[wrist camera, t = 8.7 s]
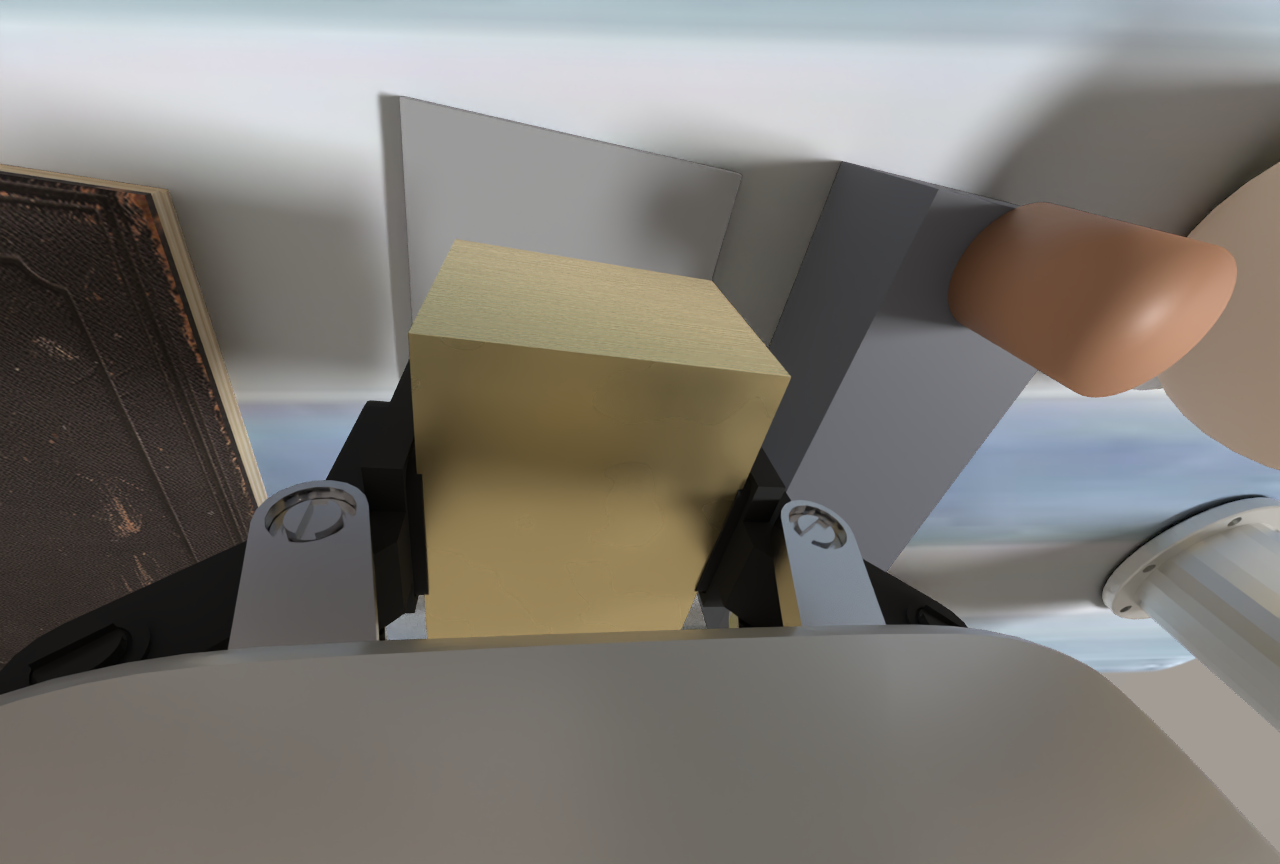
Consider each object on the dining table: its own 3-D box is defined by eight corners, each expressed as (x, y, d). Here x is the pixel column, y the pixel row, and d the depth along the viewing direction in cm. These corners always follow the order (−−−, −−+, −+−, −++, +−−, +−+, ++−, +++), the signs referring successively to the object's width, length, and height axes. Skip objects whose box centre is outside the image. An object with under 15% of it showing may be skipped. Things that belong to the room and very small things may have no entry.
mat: (736, 171, 16) (742, 175, 15) (664, 422, 21) (667, 430, 21) (404, 96, 13) (399, 97, 13) (420, 401, 19) (417, 409, 18)
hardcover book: (194, 180, 14) (142, 195, 12) (326, 634, 27) (310, 674, 25) (-691, 42, 10) (-956, 34, 9) (-51, 646, 23) (-102, 695, 21)
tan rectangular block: (711, 280, 10) (791, 376, 7) (641, 519, 14) (671, 651, 11) (455, 238, 9) (408, 333, 6) (456, 514, 13) (428, 662, 10)
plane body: (1010, 193, 18) (1387, 288, 10) (797, 559, 29) (892, 743, 21) (845, 151, 16) (1143, 225, 8) (686, 558, 27) (745, 758, 19)
